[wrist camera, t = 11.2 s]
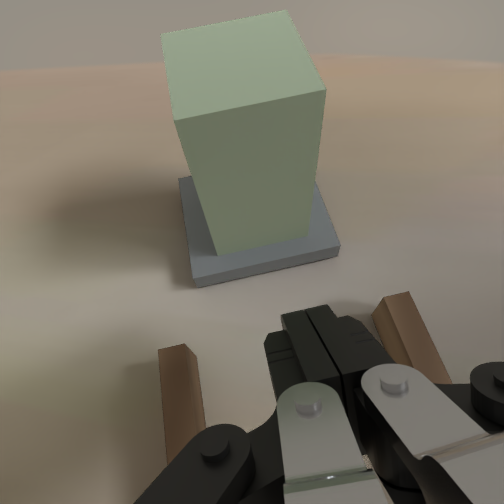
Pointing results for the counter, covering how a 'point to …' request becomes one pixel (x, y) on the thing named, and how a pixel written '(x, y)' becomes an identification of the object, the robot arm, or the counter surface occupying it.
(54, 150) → the counter surface
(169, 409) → the shelf lane
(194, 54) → the block
